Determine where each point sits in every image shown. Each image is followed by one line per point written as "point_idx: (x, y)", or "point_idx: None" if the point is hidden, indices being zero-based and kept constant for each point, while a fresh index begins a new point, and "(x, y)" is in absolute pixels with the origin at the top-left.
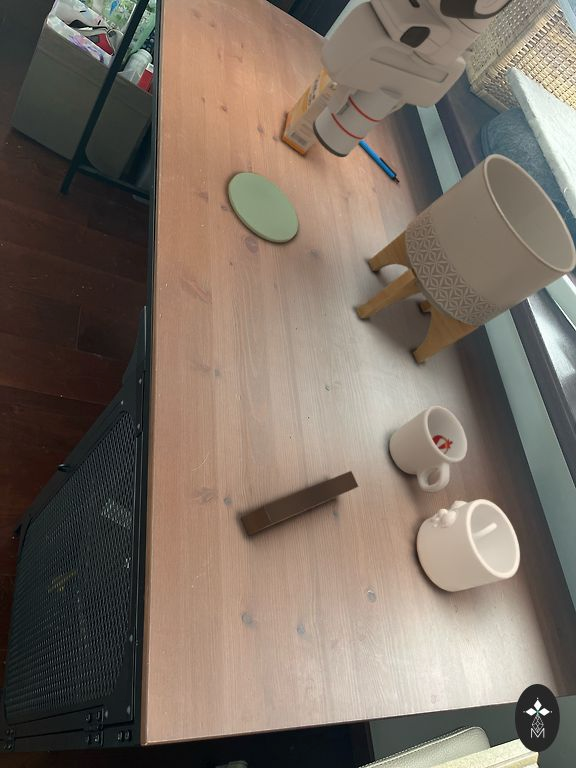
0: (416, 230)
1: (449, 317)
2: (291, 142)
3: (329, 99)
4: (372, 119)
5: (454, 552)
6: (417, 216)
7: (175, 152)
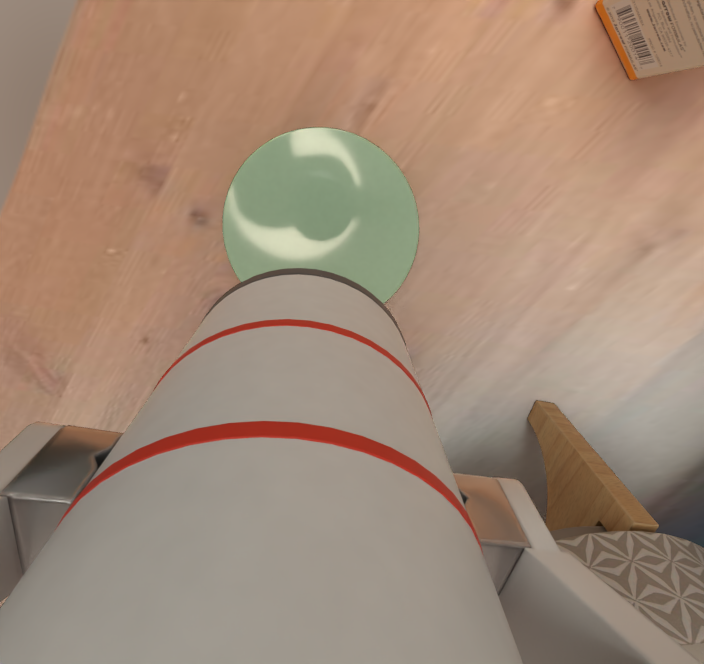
0: None
1: None
2: (613, 29)
3: (16, 436)
4: None
5: None
6: None
7: (120, 21)
